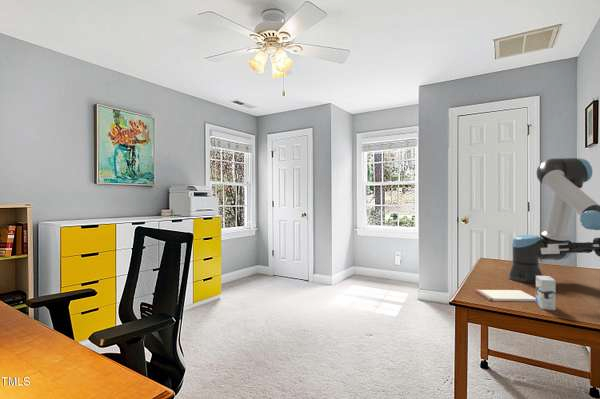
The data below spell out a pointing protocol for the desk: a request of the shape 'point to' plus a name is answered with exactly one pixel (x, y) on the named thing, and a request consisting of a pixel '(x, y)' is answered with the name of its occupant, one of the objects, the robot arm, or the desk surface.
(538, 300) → the ink box
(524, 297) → the notepad
